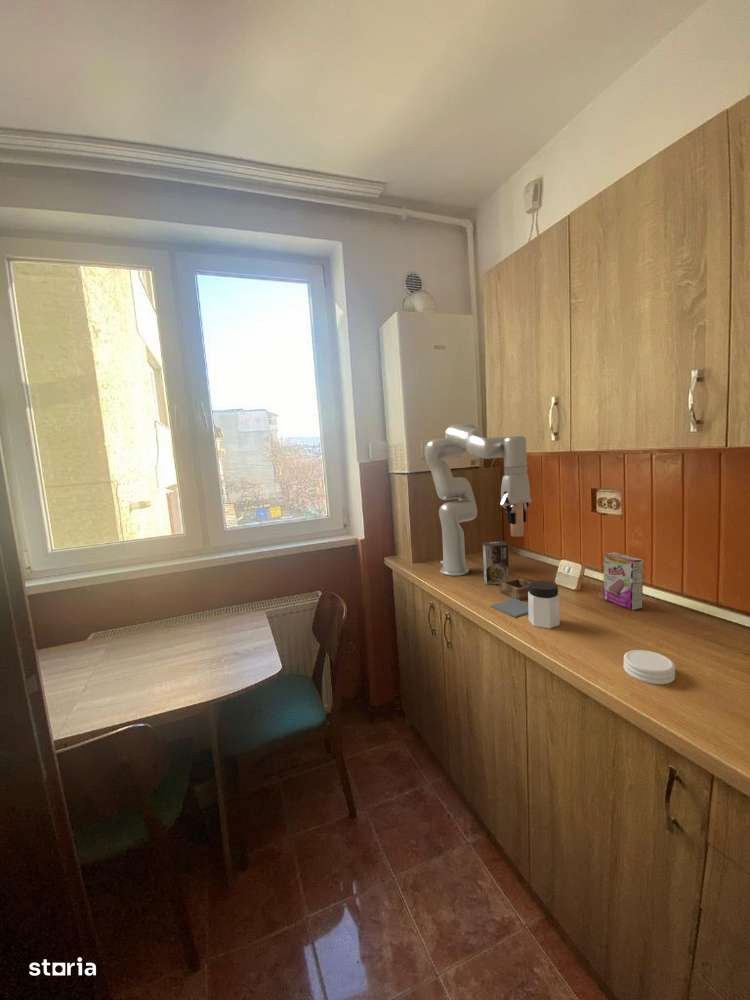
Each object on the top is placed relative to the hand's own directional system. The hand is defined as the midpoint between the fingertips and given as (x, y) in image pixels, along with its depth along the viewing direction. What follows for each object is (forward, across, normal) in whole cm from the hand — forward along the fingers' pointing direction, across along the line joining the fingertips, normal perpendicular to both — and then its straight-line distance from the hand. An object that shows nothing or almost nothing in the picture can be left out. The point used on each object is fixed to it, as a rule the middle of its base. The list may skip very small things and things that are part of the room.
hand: (516, 522), depth 144 cm
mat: (+28, +10, +7) cm, 30 cm away
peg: (+5, 0, 0) cm, 5 cm away
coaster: (+28, +13, +52) cm, 61 cm away
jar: (+28, +11, +20) cm, 36 cm away
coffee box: (+28, -5, -16) cm, 33 cm away
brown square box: (+28, -2, -2) cm, 28 cm away
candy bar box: (+28, -21, +25) cm, 43 cm away
